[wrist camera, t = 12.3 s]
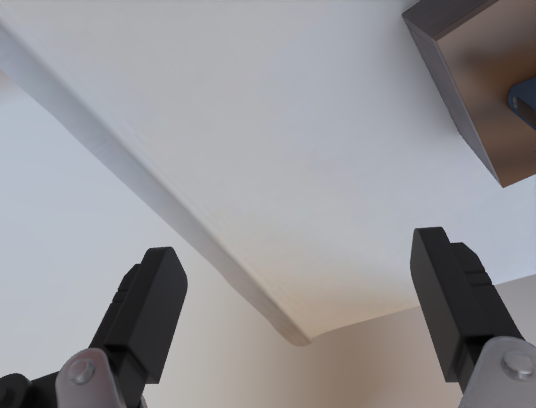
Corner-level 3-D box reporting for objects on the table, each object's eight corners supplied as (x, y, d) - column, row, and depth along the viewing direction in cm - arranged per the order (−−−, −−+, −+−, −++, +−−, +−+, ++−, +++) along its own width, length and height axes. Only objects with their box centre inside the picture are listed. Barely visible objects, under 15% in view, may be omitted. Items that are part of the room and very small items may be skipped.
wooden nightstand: (401, 14, 34) (435, 41, 25) (511, -65, 30) (598, -66, 21) (460, 134, 41) (503, 188, 32) (555, 84, 37) (635, 131, 28)
